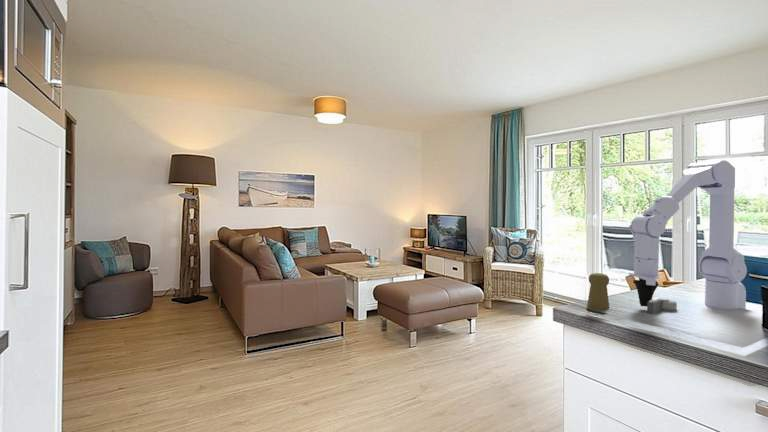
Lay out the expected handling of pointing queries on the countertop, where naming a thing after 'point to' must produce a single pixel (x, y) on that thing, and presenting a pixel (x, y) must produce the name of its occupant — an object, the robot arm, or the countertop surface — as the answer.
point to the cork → (598, 292)
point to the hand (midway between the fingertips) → (645, 306)
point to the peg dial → (661, 305)
